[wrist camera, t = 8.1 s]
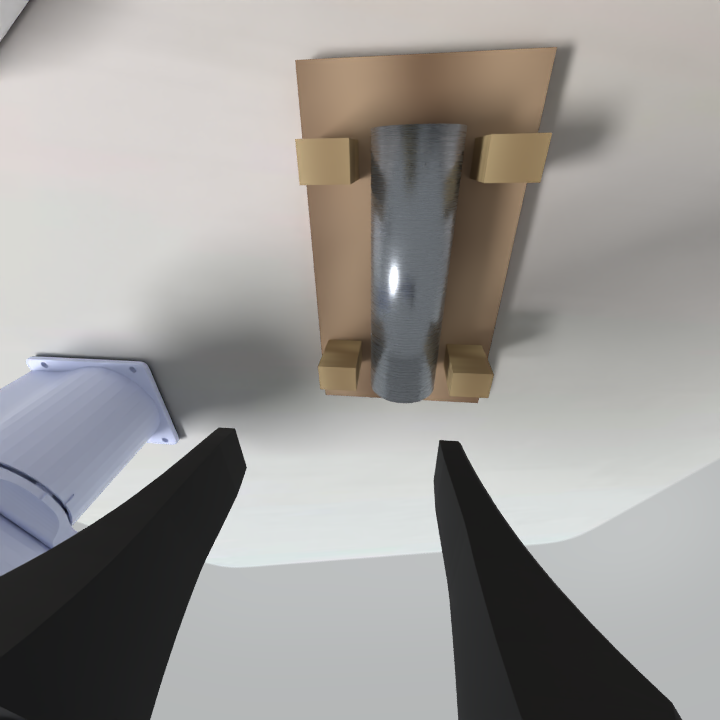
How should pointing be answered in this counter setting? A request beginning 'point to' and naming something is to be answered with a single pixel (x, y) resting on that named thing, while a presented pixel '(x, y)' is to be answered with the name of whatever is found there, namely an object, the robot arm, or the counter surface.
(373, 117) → the stand
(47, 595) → the robot arm
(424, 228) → the tube
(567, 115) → the counter surface
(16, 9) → the medicine bottle
